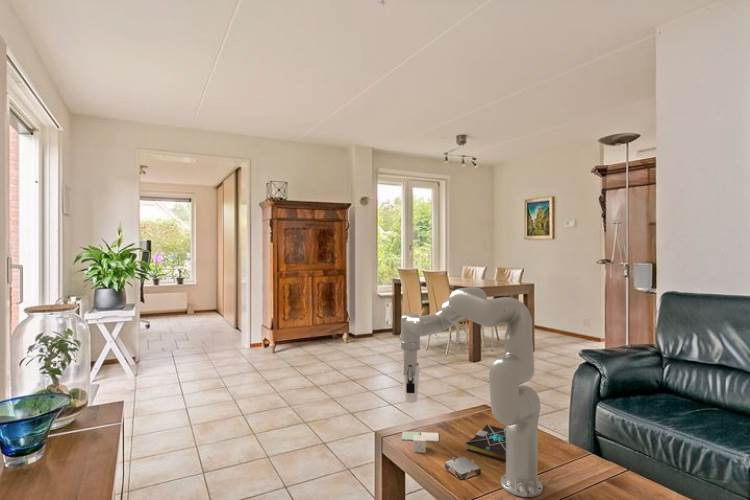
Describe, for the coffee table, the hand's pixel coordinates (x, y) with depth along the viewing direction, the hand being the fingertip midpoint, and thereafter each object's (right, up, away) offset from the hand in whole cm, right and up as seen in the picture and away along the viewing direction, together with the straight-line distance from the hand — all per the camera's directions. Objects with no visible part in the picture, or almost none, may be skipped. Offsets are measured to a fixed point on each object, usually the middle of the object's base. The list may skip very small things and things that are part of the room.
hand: (410, 389), depth 172 cm
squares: (+4, -19, 0) cm, 19 cm away
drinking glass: (0, -5, 0) cm, 5 cm away
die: (+2, -19, -11) cm, 22 cm away
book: (+32, -20, -8) cm, 39 cm away
